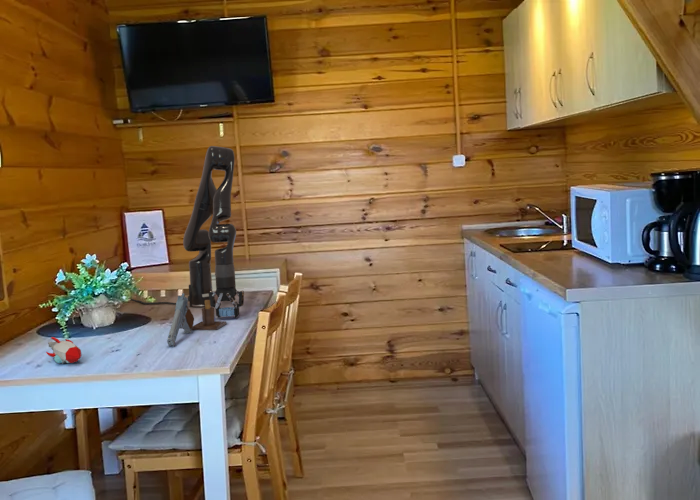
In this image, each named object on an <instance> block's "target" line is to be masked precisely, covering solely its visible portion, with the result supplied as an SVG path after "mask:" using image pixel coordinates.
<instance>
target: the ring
mask: <svg viewBox="0 0 700 500" xmlns="http://www.w3.org/2000/svg"><path fill="white" fill-rule="evenodd" d="M219 316H221V317H225V318H227V317H233V316H234V306H226V307H220V309H219Z"/></svg>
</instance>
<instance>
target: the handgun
mask: <svg viewBox="0 0 700 500" xmlns="http://www.w3.org/2000/svg"><path fill="white" fill-rule="evenodd" d="M185 295H186V294H185V293H181V295H178V296H177V300H176V302H175V303H176V305H175V309H174V315H173V318H172V321H171V325H170V329H169V332H168V336H167V339H166V343H167V345H168V346H169V347H175V345H176V341H177V337H178V334H179V330H180V329H182V330H183V334H192V331H193V330H192V328H193V326H194V325H195V324H194V323H195V322H194V321H195V317H194V314H193V313H192V311H191V309H190V308H189V307H190V306H189V304H188V303H189V302H188V297H187V296H185Z"/></svg>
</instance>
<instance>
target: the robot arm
mask: <svg viewBox="0 0 700 500" xmlns="http://www.w3.org/2000/svg"><path fill="white" fill-rule="evenodd" d="M235 158H236V156H235V152H234V150H233V149H232V148H230V147H223V146H217V145H210V146H209V147H207V149H206V152H205V157H204V161H203V167H202V172H201V176H200V181H199V185H198V188H197V192H196V195H195V197H194V198H195V199H194V202H193V206H192V212H191V215H190V218H189V221H188V223H187V226H186V229H185V231H184V234H183V239H182V244H183V248H184V250H185V251H186V252H189V253H190V252H191V253H192V252H198V254H197V255H196V256H195V257H194V258H191V259H190V260H189V261H188V268H189V271H188V272H189V284H188V296H187V298H188V303H189V307H193V308H205V300H210V306H211V307H213V308H214V309H215V316H216V317H217V318H218V319H220V318H222V316H219V309H220V308H221V305H222V303H223V302H230V303H231V304H232V307H234V315H233V316H234V318H235V319H237V318H239V316H240V307H243V306H244V303H245V302H244V301H245V291H244V290H237V288H236V287H237V286H236V285H237V284H236V269H235V268H236V267H235V264H234V263H235V262H234V247H235V241H236V236H237V228H236V226H235V225H234V224H233V223H221V222H223V221H227V220H229V219H231V217H232V191H233V190H232V189H233V181H234V172H235V160H236V159H235ZM213 170H216V171H222V172H223V171H224V177H223V180H222V182H221V183H220V184H219V186H218V187H217V186H216V184H215V182H214V179H213V174H212V173H213ZM211 217H212V218H211ZM210 218H211V222H210V225H209V228H208V230H207V229H204V228H202V227H203V225H204V224H205V223H206V222H207V221H209V219H210ZM201 228H202V229H201ZM212 243H217V244H218V243H226V245H225V246H224V247H219V248H217V249H215V250H214V264H215V265H214V276H215V288H216V290H214V291H213V281H212V280H213V279H212V265H211V264H212V263H211V261H212ZM216 296H217V300H216ZM236 296H237V297H238V299H237V298H236ZM130 299H131V300H129V301H130V302H131V301H132V302H134V303H140V304H143V305H165V304H168V305H175V306H176V302H170V301H157V302H155V301H153V302H144V301H142V300H138V299H134V298H130Z"/></svg>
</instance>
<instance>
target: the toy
mask: <svg viewBox="0 0 700 500" xmlns="http://www.w3.org/2000/svg"><path fill="white" fill-rule="evenodd" d="M50 339H51V340H53V341H48V342H47V344H48V348H50V349H51V350H52V352H49V351H45V354H46V355H47V356H48V357H52V358H53V361H54V362H55V363H56V364H65V363H66V364H69V363H70V364H73V363H76V362H78V361H79V360H80V359H81V357H82V349H80V347H79V346H78V345H76V344H75V343H74V341H72V340H70V339H67V338H66V339H64V340H60V339H59V338H56V337H54V336H51V337H50Z"/></svg>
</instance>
